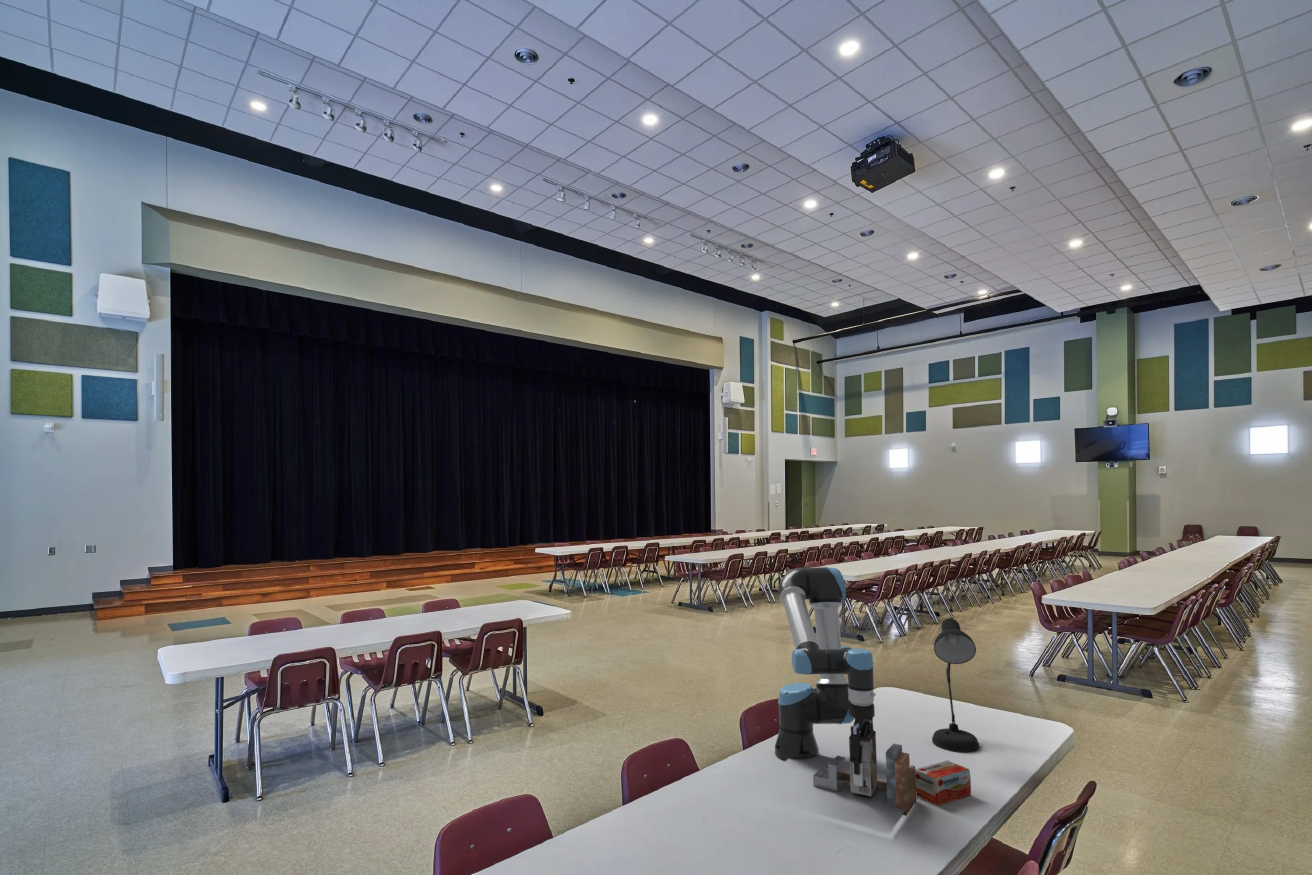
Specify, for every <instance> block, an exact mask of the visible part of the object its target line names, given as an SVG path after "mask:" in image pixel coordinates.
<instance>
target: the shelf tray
mask: <svg viewBox="0 0 1312 875" xmlns="http://www.w3.org/2000/svg"><path fill="white" fill-rule="evenodd" d="M822 767H823V766H821V767H820V769H821V768H822ZM885 767H886V768H885V770H886V772H885V773H886V781H885V780H880V779H877V787H876V789H877V790H881V791H886V798H887V805H888V806H891V807H893V808H894V807H895V808H898V809H902V811H903V812H902V814H901V815H902V816H905V817H907V816H908V815H909V813H910V811H911V809H912V808H913V807H914V805H915V804H916V802H917V796H916V793H917V792H916V778H915V769H916V766H915V765H911V766H910V753H909V752H903V745H902V744H899V743H892V744H891V746H889V748H888V749H887V750H886V751H885ZM846 782H850V772H847V771H846Z"/></svg>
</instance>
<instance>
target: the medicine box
mask: <svg viewBox="0 0 1312 875" xmlns="http://www.w3.org/2000/svg"><path fill="white" fill-rule="evenodd" d="M970 772H971V771H970V768H968V767H965V766H962V765H960V764H959V763H958V764H957V763H955V762H954V761H950V760H945V761H940V762H937V763H934V764H933V763H932V764H930V765H925V766H922V767H917V768H915V778H916V797H919V798H920V799H922V800H925V801H927V802H928V803H931V804H933V805H935V806H941V805H943V804H947V803H950V802H954V801H957V800H961V799H964V798H967V797H970V796H972V784H971V783H972V781H971V773H970Z"/></svg>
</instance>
